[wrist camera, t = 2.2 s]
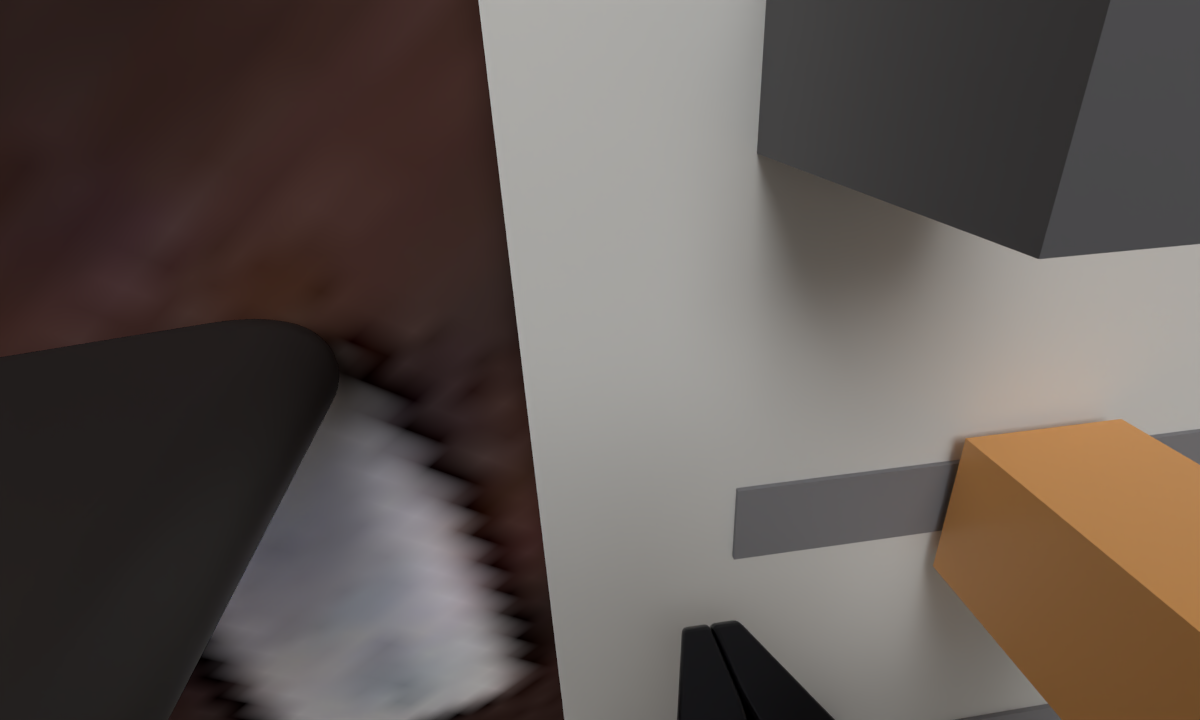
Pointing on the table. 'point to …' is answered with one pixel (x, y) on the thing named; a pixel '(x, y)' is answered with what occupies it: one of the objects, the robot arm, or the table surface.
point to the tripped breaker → (1083, 565)
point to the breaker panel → (828, 310)
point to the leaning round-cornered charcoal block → (140, 504)
